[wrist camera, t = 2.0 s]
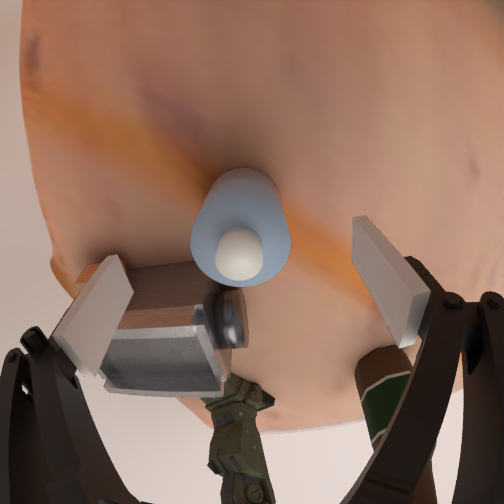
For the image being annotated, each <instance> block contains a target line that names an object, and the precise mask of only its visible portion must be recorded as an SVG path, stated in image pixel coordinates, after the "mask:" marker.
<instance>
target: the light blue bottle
mask: <svg viewBox="0 0 504 504" xmlns="http://www.w3.org/2000/svg"><path fill="white" fill-rule="evenodd" d="M290 247H291V239H290V234H289V230H288V226H287V223H286V219H285V215H284V212H283V208H282V205H281V201H280V198H279V194H278V191H277V188H276V186H275V184H274V183H273V182H272V180H271V179H270V178H269V177H268V176H266V175H265V174H264V173H262V172H260V171H258V170H255V169H252V168H235V169H231V170H229V171H227V172H225V173H223V174H222V175H220V176H219V177H218V178H217V179H216V180H215V181H214V183H213V184H212V186H211V188H210V190H209V192H208V195H207V197H206V199H205V201H204V203H203V205H202V208H201V210H200V212H199V214H198V216H197V219H196V221H195V223H194V226H193V228H192V231H191V235H190V248H191V253H192V256H193V258H194V260H195V262H196V264H197V265H198V267H199V268H200V269H201V270H202V271H203V272H204V273H205V274H206V275H207V276H208V277H210V278H212V279H213V280H215V281H217V282H219V283H222V284H225V285H229V286H234V287H249V286H254V285H258V284H261V283H263V282H265V281H267V280H269V279H271V278H272V277H273V276H275V275H276V274H277V273H278V272H279V271H280V270H281V269H282V268H283V266H284V265H285V263H286V261H287V259H288V256H289V253H290Z"/></svg>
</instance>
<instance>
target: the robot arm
mask: <svg viewBox="0 0 504 504" xmlns="http://www.w3.org/2000/svg"><path fill="white" fill-rule="evenodd" d="M352 263H353V264H354V266H355V268H356V270H357V271H358V273H359V275H360V276H361V278H362V280H363V282H364V284H365V285H366V287H367V289H368V291H369V292H370V294H371V296H372V298H373V300H374V302H375V303H376V305H377V307H378V309H379V311H380V313H381V315H382V316H383V318H384V320H385V322H386V324H387V326H388V328H389V330H390V332H391V334H392V336H393V338H394V340H395V342H396V344H397V346H398V348H403V347H406V346H409V345H413V344H415V342H416V339H417V336H418V334H419V336H420V338H421V339H422V343H421V346H420V348H419V351H418V353H417V356H416V360H415V363H414V366H413V369H412V371H411V374H410V377H409V379H408V382H407V384H406V387H405V389H404V392H403V394H402V396H401V399H400V401H399V403H398V406H397V408H396V410H395V412H394V414H393V416H392V418H391V421H390V423H389V425H388V427H387V429H386V431H385V433H384V434H383V436H382V438H381V440H380V442H379V444H378V446H377V448H376V449H375V451H374V453H373V455H372V456H371V458H370V460H369V461H368V463H367V465H366V467H365V468H364V470H363V471H362V473H361V475H360V476H359V478H358V479H357V481H356V482H355V484H354V485H353V487H352V488H351V489H350V491H349V492H348V494H347V495H346V496H345V497H344V499H343V500H342V501H341V503H340V504H412V503H413V500H414V490H415V487H416V485H417V483H418V481H419V479H420V477H421V475H422V472H423V470H424V468H425V466H426V464H427V461H428V459H429V457H430V454H431V452H432V450H433V447H434V444H435V442H436V439H437V437H438V434H439V431H440V428H441V425H442V422H443V419H444V416H445V413H446V410H447V406H448V403H449V399H450V396H451V392H452V388H453V384H454V380H455V376H456V371H457V367H458V362H459V357H460V352H461V353H462V365H463V389H464V411H463V432H462V444H461V454H460V462H459V468H458V474H457V480H456V485H455V490H454V495H453V499H452V504H504V298H503V297H502V296H501V295H500V294H498V293H496V292H491V291H489V292H485V293H483V294H482V296H481V299H480V301H479V302H465V301H464V299H463V298H462V297H461V296H459V295H458V294H456V293H453V292H446V291H445V290H444V289H443V288H442V287H441V285H440V284H439V283H438V282H437V281H436V279H435V278H434V277H433V276H432V275H431V274H430V272H429V271H428V270H427V269H425V267H424V265H423V264H422V263H421V262H420V261H419V260H417V259H415V258H414V257H412V256H408V257H403V256H402V255H401V254H400V253H399V251H398V250H397V249H396V248H395V247H394V246H393V245H392V243H391V242H390V241H389V240H388V239H387V238H386V237H385V236H384V235H383V233H382V232H381V231H380V230H379V229H378V228H377V227H376V226H375V225H374V224H373V223H372V222H371V221H370V220H369V218H368V217H367V216H358V217H353V234H352ZM133 293H134V291H133V289H132V287H131V285H130V283H129V280H128V278H127V276H126V274H125V271H124V269H123V267H122V264H121V262H120V259H119V257H118V255H117V254H116V255H110V256H107V257H106V258H105V259H104V261H103V262H102V263H101V265H100V266H99V267H98V269H97V270H96V271H95V273H94V274H93V275H92V277H91V278H90V279H89V281H88V282H87V284H86V285H85V286H84V288H83V289H82V291H81V292H80V293H79V295H78V296H77V298H76V299H75V301H74V302H73V304H72V305H71V306H70V307H69V308H68V309H67V311H66V312H65V314H64V315H63V318H61V320H60V321H59V323H58V324H57V326H56V328H55V329H54V331H53V332H52V334H51V336H50V337H49V339H47V338H46V336H45V335H44V333H43V332H42V331H41V329H40V328H39V327H38V326H34V327H31V328H29V329H28V330H27V331H26V332H25V333H24V334H23V336H22V337H21V339H20V343H21V344H22V345H23V346H24V348H25V349H26V350H27V352H28V353H29V354H25V355H24V353H23V352H22V351H21V350H20V348H14V349H12V350H10V351H9V352H8V354H7V355H6V357H5V360H4V364H3V368H2V372H1V376H0V504H152V503H147V502H142V501H141V503H140V502H139V501H138V500H137V499H136V498H135V497H134V496H133V495H132V494H131V493H130V492H129V491H128V490H127V488H126V487H125V485H124V483H123V482H122V480H121V478H120V476H119V474H118V473H117V471H116V469H115V467H114V465H113V463H112V461H111V459H110V457H109V455H108V453H107V451H106V449H105V447H104V445H103V442H102V440H101V438H100V436H99V433H98V431H97V429H96V426H95V424H94V421H93V419H92V416H91V414H90V411H89V408H88V406H87V403H86V400H85V398H84V394H83V391H82V389H81V385H80V382H79V379H78V377H77V376H76V375H75V372H76V370H77V369H78V370H79V372H80V373H81V374H82V375H83V376H84V377H92V378H95V377H96V375H97V372H98V370H99V367H100V365H101V363H102V360H103V358H104V356H105V353H106V351H107V349H108V346H109V344H110V342H111V340H112V337H113V335H114V333H115V331H116V329H117V327H118V324H119V322H120V320H121V318H122V316H123V314H124V312H125V310H126V308H127V306H128V304H129V301H130V299H131V297H132V295H133ZM22 385H23V386H24V387H25V388H26V389H27V390H28V394H25V392H24V391H23V390H22Z"/></svg>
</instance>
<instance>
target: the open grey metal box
mask: <svg viewBox="0 0 504 504" xmlns="http://www.w3.org/2000/svg"><path fill="white" fill-rule="evenodd" d="M120 262H121V264H122V267H123V269H124V271H125V274H126V276H127V278H128V280H129V283H130V285H131V287H132V289H133V291H134V293H133V295H132V297H131V299H130V301H129V304H128V306H127V308H126V310H125V312H124V314H123V316H122V318H121V320H120V322H119V324H118V327H117V329H116V331H115V333H114V335H113V337H112V340H111V342H110V344H109V346H108V349H107V351H106V353H105V356H104V358H103V360H102V363H101V365H100V367H99V370H98V372H97V373H98V374H99V375H100V376H101V377H102V379H106V382H105V384H104V388H105V389H106V390H107V391H108V392H109V393H119V394H128V395H141V396H157V397H223V394H224V381H227V378H230V372H231V356H232V349H235V348H246V347H248V343H249V330H248V319H247V311H246V305H245V300H244V296H243V293H242V291H241V290H240V289H239V290H231V291H222V292H221V288H220V285H219V282H217V281H215V280H213V279H212V278H210V277H208V276H207V275H206V274H205V273H204V272H203V271H202V270H201V269H200V268H199V267H198V265H197V264H196V262H195V261H190V262H183V263H175V264H168V265H161V266H154V267H147V268H140V269H132V270H126V267H125V265H124V263H123V260H122V259H121V260H120ZM100 265H101V263H96V264H90V265H88V266H87V267H86V268H85V269H84V271H83V272H82V273H81V274H80V276H79V277H78V278H77V280H76V281H75V282H74V283H73V285H74V286H75V288H76V290H77V292H78V295H79V293H80V292H81V291H82V289H83V288H84V286H85V285H86V284H87V282H88V281H89V279H90V278H91V277H92V275H93V274H94V273H95V271H96V270H97V269H98V267H99V266H100ZM78 295H77V296H78ZM76 298H77V297H76ZM76 298H75V299H76ZM75 299H74V301H75ZM74 301H73V302H74ZM73 302H72V304H73ZM72 304H71V305H72ZM71 305H70V306H71Z"/></svg>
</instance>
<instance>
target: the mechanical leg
mask: <svg viewBox="0 0 504 504" xmlns="http://www.w3.org/2000/svg"><path fill="white" fill-rule="evenodd" d="M199 398H200V399H201V400H202V401H203V402H204V403H205V404H206V406H205V408H206V409H208V410H209V411H210V412H212V413H211V418H212V421H213V425H214V433H213V437H212V440H211V442H210V451H209V463H208V465H207V466H208V467H209V468H210V469H211V470H212V471H213V472H214V473H215V474H218V475H220V476H222V477H223V483H222V487H221V493H220V494H221V503H222V504H275V503H276V501H275V496H274V491H273V488H272V485H271V482H270V479H269V474H268V470H267V465H266V461H265V457H264V452H263V448H262V443H261V438H260V434H259V432H258V429H257V427H256V422H255V418H256V416H257V412H258V411H261V410H263V409H266V408H268V407H271V406H273V405H274V402H275V398H273V397H272V396H271V395H269V394H268V393H266V392H265V391H263V390H262V389H261V387H260V386H258V385H256V384H254V385H250V383H249V382H248V381H246V380H244V379H243V380H242V379H241V378H239V377H237V376H235V375H234V374H232V373H230V378H227V381H224V394H223V397H199Z"/></svg>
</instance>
